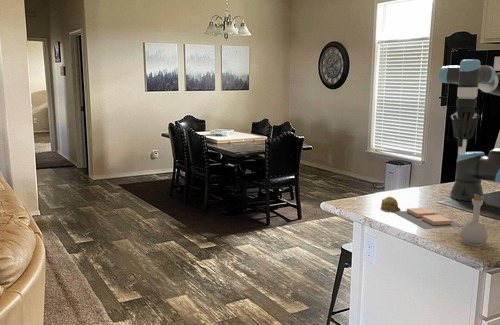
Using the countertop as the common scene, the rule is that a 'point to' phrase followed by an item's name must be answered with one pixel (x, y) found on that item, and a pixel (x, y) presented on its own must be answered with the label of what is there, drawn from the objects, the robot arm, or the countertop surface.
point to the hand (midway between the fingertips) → (461, 154)
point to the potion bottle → (474, 226)
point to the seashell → (390, 204)
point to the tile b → (436, 219)
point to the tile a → (420, 212)
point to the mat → (423, 223)
